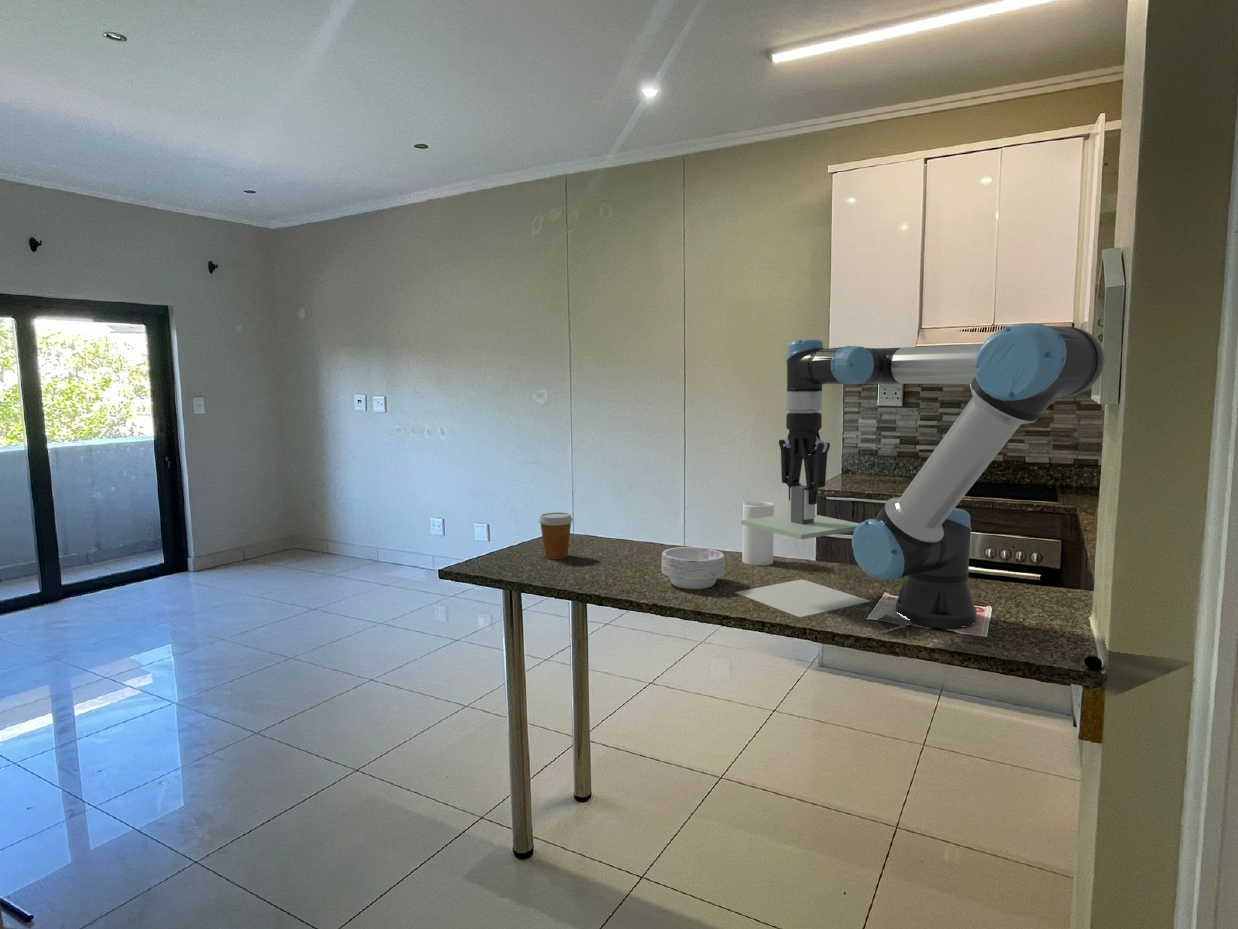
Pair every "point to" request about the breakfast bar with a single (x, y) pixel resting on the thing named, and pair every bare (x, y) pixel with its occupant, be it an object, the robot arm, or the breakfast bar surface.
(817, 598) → the mat
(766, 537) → the cup
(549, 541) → the disposable coffee cup
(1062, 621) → the breakfast bar surface
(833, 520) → the cover
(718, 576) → the paper bowls
